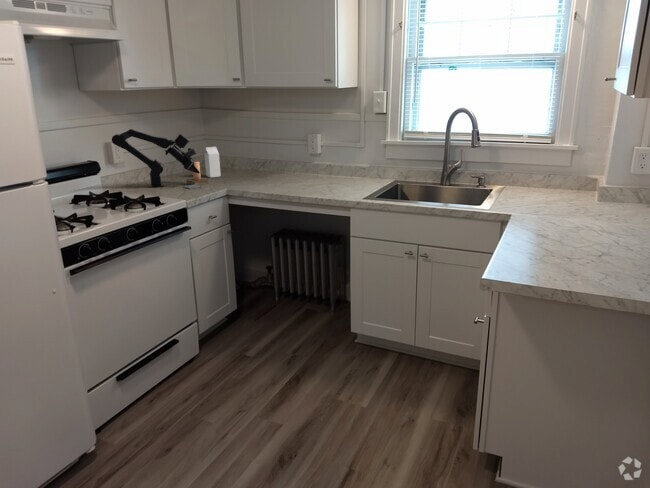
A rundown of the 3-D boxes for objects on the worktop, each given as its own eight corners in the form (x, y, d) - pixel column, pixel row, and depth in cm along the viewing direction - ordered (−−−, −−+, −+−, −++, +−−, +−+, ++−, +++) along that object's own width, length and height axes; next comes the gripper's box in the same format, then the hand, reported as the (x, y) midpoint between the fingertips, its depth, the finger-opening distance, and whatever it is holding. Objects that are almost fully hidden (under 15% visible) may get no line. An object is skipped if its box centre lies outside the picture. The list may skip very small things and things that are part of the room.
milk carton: (220, 176, 323) (218, 147, 318) (210, 177, 319) (207, 147, 314) (216, 175, 329) (214, 146, 323) (206, 176, 325) (203, 146, 319)
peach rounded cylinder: (192, 183, 300) (190, 162, 296) (198, 182, 303) (196, 161, 299) (196, 184, 297) (194, 162, 293) (202, 183, 300) (200, 162, 296)
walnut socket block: (187, 183, 300) (186, 179, 299) (200, 181, 306) (199, 177, 305) (195, 185, 294) (194, 181, 293) (208, 183, 300) (207, 179, 299)
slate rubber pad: (183, 187, 289) (183, 186, 289) (194, 185, 294) (194, 184, 293) (190, 189, 284) (189, 187, 284) (200, 187, 289) (200, 186, 289)
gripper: (187, 145, 283) (209, 164, 289) (186, 142, 300) (206, 159, 307) (174, 160, 283) (196, 178, 290) (174, 156, 300) (194, 173, 307)
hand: (198, 171), depth 298 cm, fingers open, 9 cm apart
